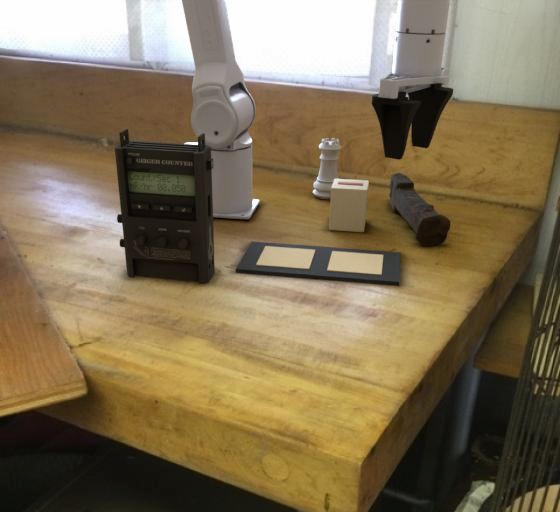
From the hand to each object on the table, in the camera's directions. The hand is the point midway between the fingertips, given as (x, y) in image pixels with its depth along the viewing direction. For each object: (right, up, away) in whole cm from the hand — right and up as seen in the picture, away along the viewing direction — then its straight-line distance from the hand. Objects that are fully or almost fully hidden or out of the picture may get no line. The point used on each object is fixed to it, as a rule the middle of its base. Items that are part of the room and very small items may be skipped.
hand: (407, 152), depth 88 cm
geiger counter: (-28, -17, -11) cm, 35 cm away
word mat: (-11, -15, -8) cm, 20 cm away
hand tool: (+1, -8, +6) cm, 10 cm away
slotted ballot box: (-7, -8, +4) cm, 12 cm away
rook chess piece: (-9, -2, +16) cm, 18 cm away
